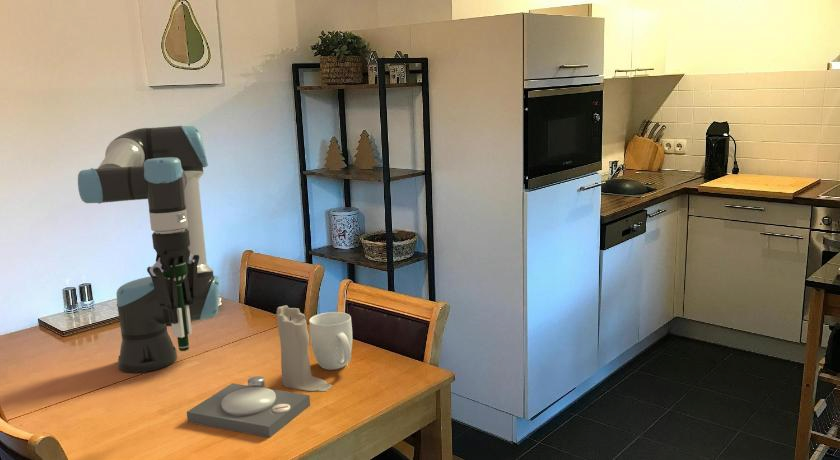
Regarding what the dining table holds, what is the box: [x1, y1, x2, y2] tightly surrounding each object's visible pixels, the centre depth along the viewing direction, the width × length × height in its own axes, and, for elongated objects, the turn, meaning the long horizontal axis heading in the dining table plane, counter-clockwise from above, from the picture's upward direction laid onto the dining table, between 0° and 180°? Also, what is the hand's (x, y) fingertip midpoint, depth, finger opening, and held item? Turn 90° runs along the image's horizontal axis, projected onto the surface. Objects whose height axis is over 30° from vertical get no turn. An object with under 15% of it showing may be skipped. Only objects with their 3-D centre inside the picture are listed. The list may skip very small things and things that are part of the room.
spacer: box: [247, 375, 266, 388], centre depth 169 cm, size 4×4×2 cm
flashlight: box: [163, 261, 190, 352], centre depth 150 cm, size 5×5×20 cm
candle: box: [276, 304, 333, 392], centre depth 169 cm, size 7×14×20 cm, turn 61°
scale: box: [186, 382, 311, 439], centre depth 156 cm, size 22×16×4 cm
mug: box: [308, 311, 353, 371], centre depth 179 cm, size 15×11×13 cm
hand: (182, 334), depth 151 cm, fingers closed on flashlight, 1 cm apart
